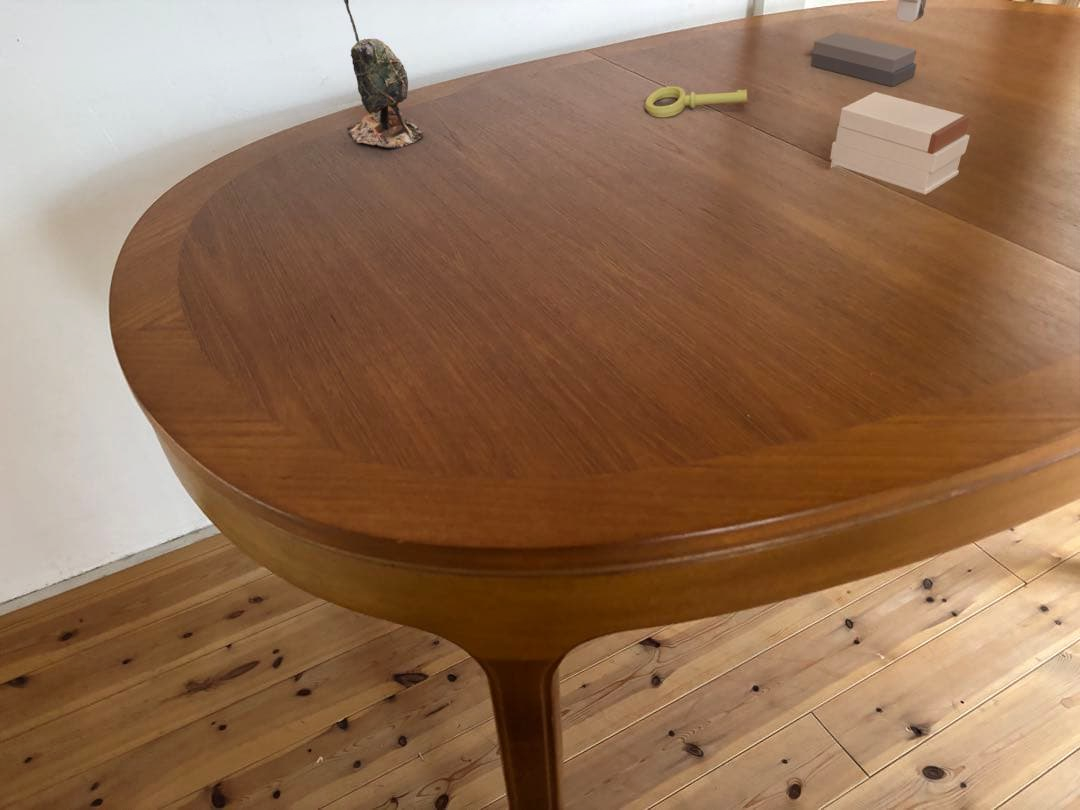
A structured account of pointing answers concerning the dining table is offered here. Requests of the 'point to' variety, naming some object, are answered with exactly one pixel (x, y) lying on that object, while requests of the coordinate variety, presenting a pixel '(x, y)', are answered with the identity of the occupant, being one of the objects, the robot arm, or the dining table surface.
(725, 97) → the key
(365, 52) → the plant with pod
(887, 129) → the white book
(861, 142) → the beige box
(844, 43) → the grey stack
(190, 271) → the dining table surface
